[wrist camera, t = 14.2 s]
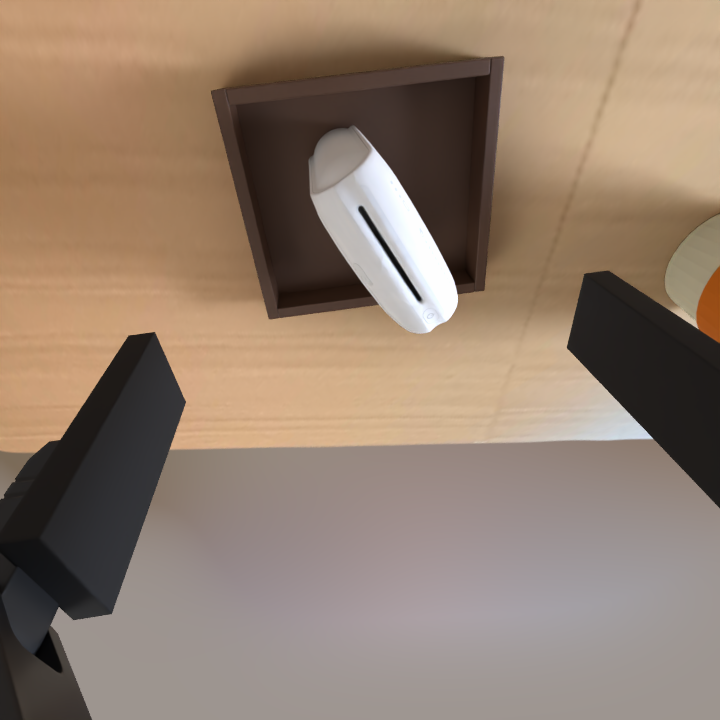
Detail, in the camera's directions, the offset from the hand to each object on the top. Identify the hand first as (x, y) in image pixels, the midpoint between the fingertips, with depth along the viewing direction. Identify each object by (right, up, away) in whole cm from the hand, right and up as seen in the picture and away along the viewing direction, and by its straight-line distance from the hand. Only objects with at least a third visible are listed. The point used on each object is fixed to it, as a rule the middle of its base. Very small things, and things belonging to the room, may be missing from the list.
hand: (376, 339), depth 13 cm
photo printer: (0, +11, +17) cm, 20 cm away
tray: (0, +11, +17) cm, 20 cm away
